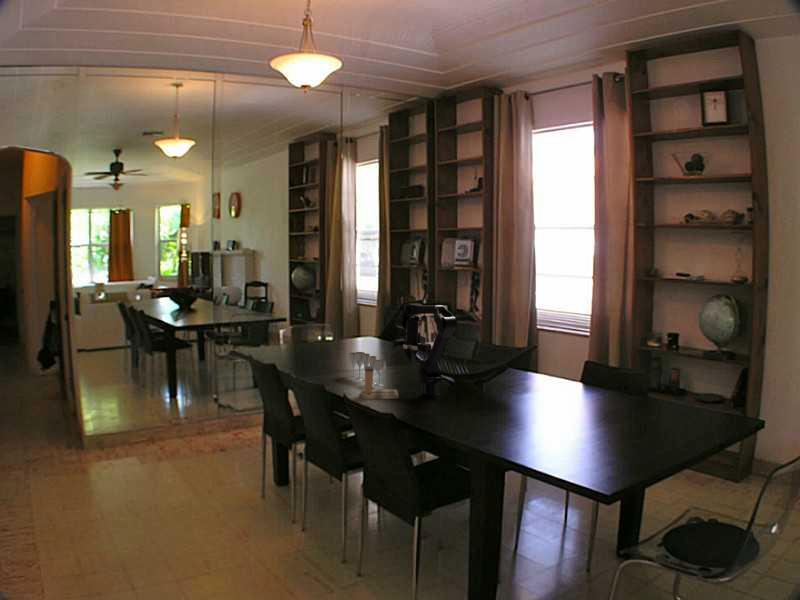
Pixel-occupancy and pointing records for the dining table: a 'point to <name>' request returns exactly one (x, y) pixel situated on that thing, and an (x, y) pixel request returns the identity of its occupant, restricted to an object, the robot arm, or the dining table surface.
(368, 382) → the fader tab
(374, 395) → the fader console
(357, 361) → the goblet set
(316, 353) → the dining table surface
